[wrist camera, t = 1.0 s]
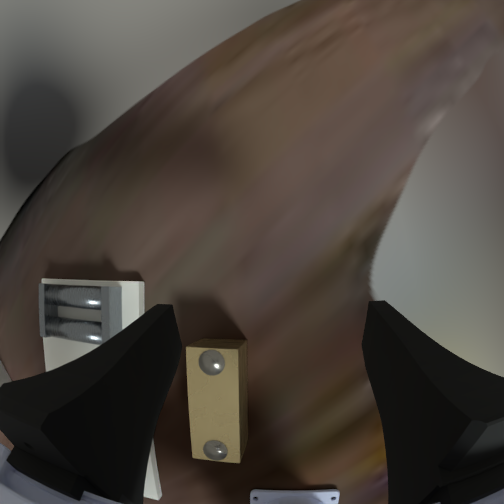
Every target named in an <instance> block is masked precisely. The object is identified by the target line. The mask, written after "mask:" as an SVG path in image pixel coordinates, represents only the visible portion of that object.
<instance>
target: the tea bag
mask: <svg viewBox="0 0 504 504" xmlns="http://www.w3.org/2000/svg"><path fill="white" fill-rule="evenodd" d="M8 382H12V380H11V379H10V377H9V375H8V373H7V371H6V370H5V368H4V366H3V364H2V362H1V360H0V387H1V386H2V384H3V383H8Z"/></svg>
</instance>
